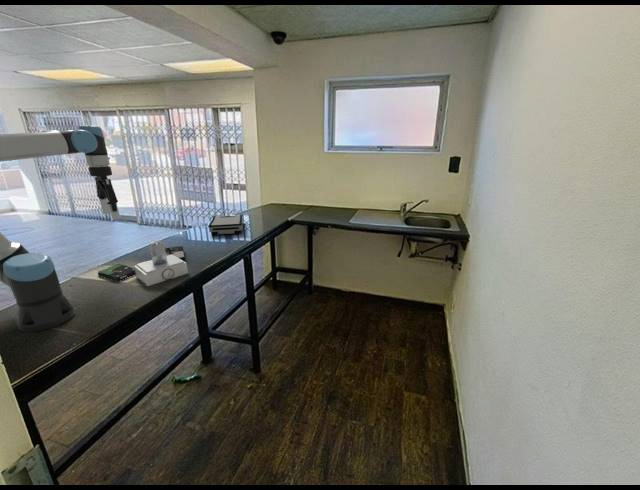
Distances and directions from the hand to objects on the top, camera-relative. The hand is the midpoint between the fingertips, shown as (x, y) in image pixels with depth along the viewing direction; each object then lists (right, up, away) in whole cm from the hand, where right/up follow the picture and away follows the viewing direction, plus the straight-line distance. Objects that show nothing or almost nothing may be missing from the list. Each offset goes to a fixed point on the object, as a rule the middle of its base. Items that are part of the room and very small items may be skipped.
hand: (111, 216), depth 128 cm
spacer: (+17, -21, +8) cm, 28 cm away
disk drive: (-4, -27, +11) cm, 30 cm away
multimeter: (+11, -20, +30) cm, 38 cm away
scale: (+17, -27, +11) cm, 33 cm away
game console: (+25, -2, +82) cm, 86 cm away
